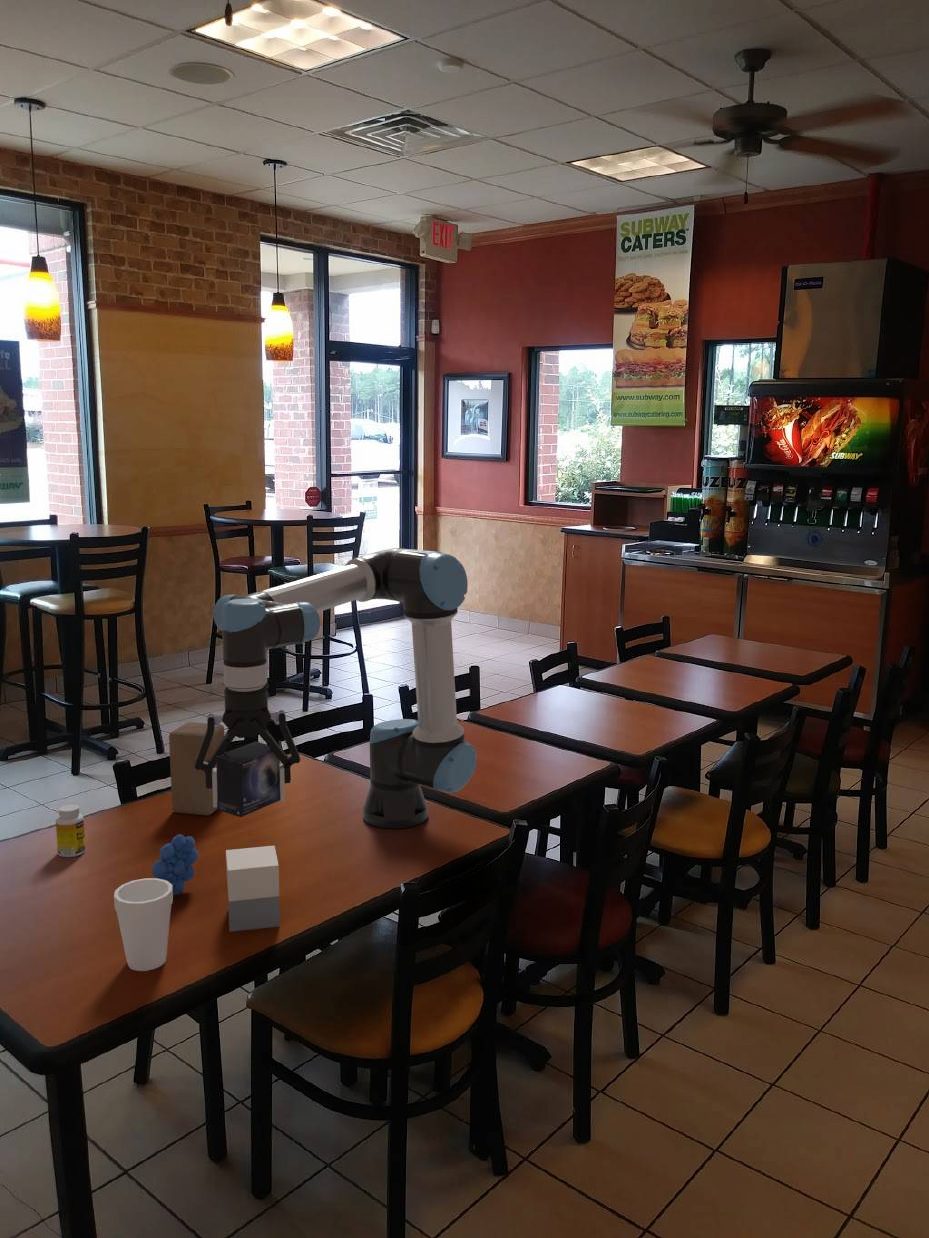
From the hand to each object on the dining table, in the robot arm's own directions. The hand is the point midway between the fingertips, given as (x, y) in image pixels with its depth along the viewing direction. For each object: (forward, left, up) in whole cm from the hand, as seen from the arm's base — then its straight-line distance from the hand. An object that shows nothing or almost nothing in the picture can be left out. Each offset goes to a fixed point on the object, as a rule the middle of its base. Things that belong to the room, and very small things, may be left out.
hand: (249, 802), depth 180 cm
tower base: (0, 0, -23) cm, 23 cm away
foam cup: (+18, +12, -23) cm, 31 cm away
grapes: (+15, -13, -23) cm, 30 cm away
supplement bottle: (+37, -37, -23) cm, 57 cm away
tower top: (0, 0, -17) cm, 17 cm away
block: (+11, -58, -23) cm, 63 cm away
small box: (0, 0, -1) cm, 1 cm away
